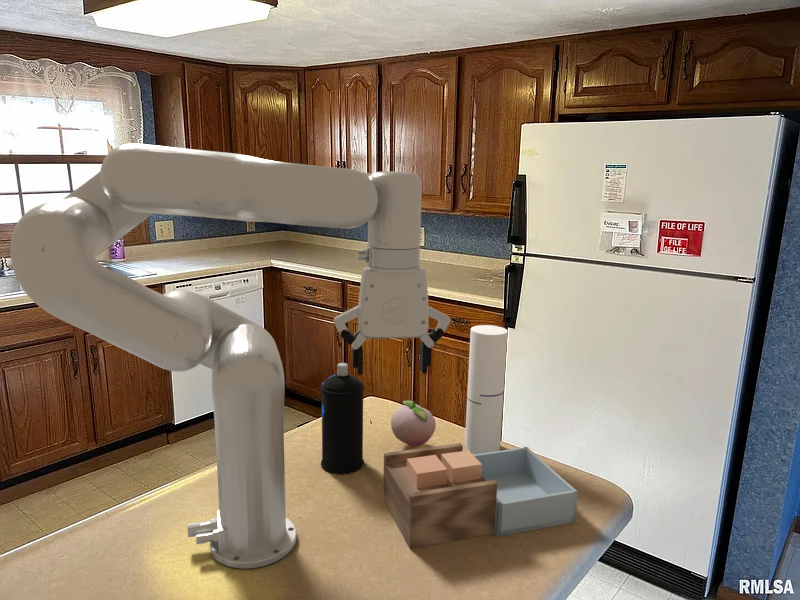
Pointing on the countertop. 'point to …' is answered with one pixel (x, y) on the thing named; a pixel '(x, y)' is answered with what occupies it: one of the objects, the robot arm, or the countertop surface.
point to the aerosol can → (342, 422)
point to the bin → (527, 492)
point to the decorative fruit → (412, 424)
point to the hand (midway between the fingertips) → (391, 371)
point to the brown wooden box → (437, 502)
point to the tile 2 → (461, 466)
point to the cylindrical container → (485, 388)
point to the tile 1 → (426, 471)
